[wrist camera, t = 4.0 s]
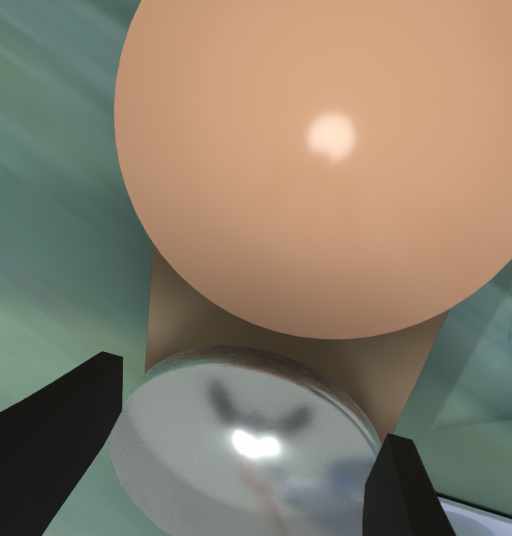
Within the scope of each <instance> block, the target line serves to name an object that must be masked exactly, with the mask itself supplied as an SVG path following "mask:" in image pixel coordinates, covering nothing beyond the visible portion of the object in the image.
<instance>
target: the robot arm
mask: <svg viewBox="0 0 512 536" xmlns="http://www.w3.org/2000/svg"><path fill="white" fill-rule="evenodd" d="M122 389H123V357H121V356H117V355H114V354H110V353H107V352H103V351H102V352H100V353H99V354H97V355H95V356H94V357H92V358H90V359H89V360H87V361H86V362H84V363H82V364H81V365H79V366H78V367H76V368H74V369H73V370H71V371H70V372H68V373H66V374H65V375H63V376H62V377H60V378H58V379H57V380H55V381H54V382H52V383H50V384H49V385H47V386H45V387H44V388H42V389H40V390H39V391H37V392H35V393H34V394H32V395H30V396H29V397H27V398H25V399H23V400H22V401H20V402H18V403H16V404H14V405H13V406H11V407H9V408H7V409H5V410H3V411H2V412H0V536H42V535H43V533H44V532H45V530H46V528H47V527H48V525H49V524H50V522H51V521H52V519H53V518H54V516H55V515H56V514H57V512H58V511H59V509H60V508H61V506H62V505H63V503H64V502H65V501H66V499H67V498H68V496H69V495H70V493H71V492H72V491H73V489H74V488H75V486H76V485H77V483H78V482H79V481H80V479H81V478H82V476H83V475H84V473H85V472H86V470H87V469H88V468H89V466H90V465H91V463H92V462H93V460H94V459H95V457H96V456H97V454H98V453H99V452H100V450H101V449H102V447H103V446H104V444H105V442H106V440H107V438H108V437H109V435H110V433H111V431H112V429H113V427H114V425H115V424H116V422H117V420H118V418H119V416H120V414H121V412H122ZM362 536H512V519H509V518H506V517H502V516H499V515H496V514H493V513H489V512H486V511H483V510H480V509H477V508H473V507H470V506H467V505H464V504H460V503H457V502H454V501H451V500H448V499H444V498H441V497H438V496H437V494H436V492H435V490H434V488H433V485H432V483H431V481H430V479H429V477H428V474H427V472H426V470H425V467H424V465H423V463H422V460H421V458H420V456H419V453H418V451H417V449H416V446H415V444H414V442H413V441H412V440H410V439H407V438H403V437H400V436H396V435H393V434H389V433H387V436H386V438H385V440H384V442H383V445H382V447H381V449H380V451H379V454H378V456H377V458H376V460H375V463H374V465H373V467H372V470H371V472H370V474H369V476H368V479H367V481H366V483H365V491H364V503H363V518H362Z"/></svg>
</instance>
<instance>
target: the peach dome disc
mask: <svg viewBox="0 0 512 536" xmlns="http://www.w3.org/2000/svg"><path fill="white" fill-rule="evenodd" d="M114 122H115V139H116V146H117V152H118V158H119V164H120V168H121V171H122V175H123V179H124V182H125V186H126V189H127V192H128V194H129V197H130V199H131V202H132V204H133V207H134V209H135V212H136V214H137V216H138V217H139V219H140V221H141V223H142V225H143V227H144V229H145V230H146V232H147V234H148V236H149V237H150V239H151V240H152V241H153V243H154V244H155V246H156V247H157V249H158V250H159V252H160V253H161V255H162V256H163V257H164V258H165V259H166V260H167V261H168V263H169V264H170V265H171V266H172V267H173V268H174V270H175V271H176V272H177V273H178V274H179V275H180V276H181V277H182V278H183V279H184V280H186V281H187V282H188V283H189V284H190V285H191V286H192V287H193V288H194V289H195V290H197V291H198V292H199V293H201V294H202V295H203V296H205V297H206V298H207V299H209V300H210V301H211V302H213V303H214V304H216V305H218V306H219V307H221V308H223V309H224V310H226V311H228V312H229V313H231V314H233V315H235V316H237V317H239V318H242V319H244V320H246V321H248V322H250V323H253V324H255V325H258V326H261V327H264V328H267V329H270V330H273V331H276V332H281V333H285V334H290V335H294V336H299V337H308V338H317V339H353V338H362V337H371V336H376V335H381V334H385V333H390V332H394V331H398V330H401V329H404V328H407V327H410V326H413V325H416V324H419V323H421V322H423V321H426V320H428V319H430V318H432V317H434V316H436V315H438V314H441V313H443V312H445V311H446V310H448V309H450V308H451V307H453V306H455V305H456V304H458V303H460V302H461V301H463V300H464V299H466V298H468V297H469V296H470V295H472V294H473V293H474V292H476V291H477V290H478V289H479V288H481V287H482V286H483V285H484V284H486V283H487V282H488V281H490V280H491V279H492V278H493V277H494V276H495V275H496V274H497V273H498V272H499V271H500V270H501V269H502V268H503V267H504V266H505V265H506V264H507V263H508V262H509V261H510V260H511V259H512V0H141V3H140V5H139V7H138V9H137V11H136V13H135V15H134V17H133V20H132V22H131V25H130V28H129V31H128V34H127V37H126V40H125V43H124V46H123V49H122V53H121V58H120V63H119V68H118V73H117V78H116V88H115V102H114Z"/></svg>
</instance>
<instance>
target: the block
mask: <svg viewBox="0 0 512 536" xmlns="http://www.w3.org/2000/svg"><path fill="white" fill-rule="evenodd" d="M449 310H450V309H448V310H446V311H445V312H443V313H441V314H438V315H436V316H434V317H432V318H430V319H428V320H426V321H423V322H421V323H419V324H416V325H413V326H410V327H407V328H404V329H401V330H398V331H394V332H390V333H385V334H381V335H376V336H371V337H362V338H353V339H317V338H308V337H299V336H294V335H290V334H285V333H281V332H276V331H273V330H270V329H267V328H264V327H261V326H258V325H255V324H253V323H250V322H248V321H246V320H244V319H242V318H239V317H237V316H235V315H233V314H231V313H229V312H228V311H226V310H224V309H223V308H221V307H219V306H218V305H216V304H214V303H213V302H211V301H210V300H209V299H207V298H206V297H205V296H203V295H202V294H201V293H199V292H198V291H197V290H195V289H194V288H193V287H192V286H191V285H190V284H189V283H188V282H187V281H186V280H184V279H183V278H182V277H181V276H180V275H179V274H178V273H177V272H176V271H175V270H174V268H173V267H172V266H171V265H170V264H169V263H168V261H167V260H166V259H165V258H164V257H163V256H162V255H161V253H160V252H159V250H158V249H157V247H156V246H155V244H154V243H153V254H152V269H151V285H150V301H149V317H148V333H147V348H146V364H145V373H146V372H147V371H149V370H150V369H151V368H152V367H153V366H155V365H156V364H157V363H159V362H161V361H162V360H164V359H166V358H167V357H169V356H172V355H174V354H177V353H179V352H182V351H186V350H190V349H194V348H198V347H206V346H215V345H224V346H242V347H250V348H256V349H261V350H265V351H269V352H273V353H276V354H279V355H282V356H285V357H288V358H291V359H293V360H296V361H298V362H300V363H302V364H304V365H306V366H309V367H311V368H312V369H314V370H316V371H317V372H319V373H321V374H322V375H324V376H326V377H327V378H329V379H330V380H331V381H333V382H334V383H335V384H337V385H338V386H339V387H341V388H342V389H343V390H344V391H345V392H346V393H347V394H348V395H349V396H350V397H351V398H352V399H353V400H355V401H356V403H357V404H358V405H359V406H360V408H361V409H362V410H363V411H364V412H365V414H366V415H367V417H368V418H369V420H370V422H371V423H372V425H373V426H374V428H375V430H376V433H377V435H378V437H379V440H380V442H381V446H382V445H383V442H384V440H385V438H386V436H387V433H389V434H392V433H393V431H394V429H395V427H396V424H397V422H398V420H399V418H400V416H401V414H402V411H403V409H404V407H405V405H406V403H407V401H408V398H409V396H410V394H411V392H412V390H413V388H414V385H415V383H416V381H417V379H418V377H419V375H420V372H421V370H422V368H423V366H424V364H425V362H426V359H427V357H428V355H429V353H430V351H431V349H432V346H433V344H434V342H435V340H436V338H437V336H438V333H439V331H440V329H441V327H442V325H443V323H444V320H445V318H446V316H447V314H448V312H449Z"/></svg>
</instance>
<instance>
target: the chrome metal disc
mask: <svg viewBox="0 0 512 536" xmlns="http://www.w3.org/2000/svg"><path fill="white" fill-rule="evenodd" d="M109 443H110V455H111V459H112V463H113V467H114V470H115V472H116V475H117V477H118V479H119V481H120V483H121V485H122V487H123V488H124V490H125V492H126V493H127V495H128V496H129V497H130V499H131V500H132V502H133V503H134V504H135V505H136V506H137V507H138V508H139V510H140V511H141V512H142V513H143V514H144V515H145V516H146V517H147V518H148V519H149V520H151V521H152V522H153V523H154V524H155V525H156V526H158V527H159V528H160V529H161V530H163V531H164V532H165V533H167V534H168V535H170V536H362V518H363V503H364V491H365V483H366V481H367V479H368V476H369V474H370V472H371V470H372V467H373V465H374V463H375V460H376V458H377V456H378V454H379V451H380V449H381V447H382V446H381V442H380V440H379V437H378V435H377V433H376V430H375V428H374V426H373V425H372V423H371V422H370V420H369V418H368V417H367V415H366V414H365V412H364V411H363V410H362V409H361V408H360V406H359V405H358V404H357V403H356V401H355V400H353V399H352V398H351V397H350V396H349V395H348V394H347V393H346V392H345V391H344V390H343V389H342V388H341V387H339V386H338V385H337V384H335V383H334V382H333V381H331V380H330V379H329V378H327V377H326V376H324V375H322V374H321V373H319V372H317V371H316V370H314V369H312V368H311V367H309V366H306V365H304V364H302V363H300V362H298V361H296V360H293V359H291V358H288V357H285V356H282V355H279V354H276V353H273V352H269V351H265V350H261V349H256V348H250V347H242V346H224V345H215V346H206V347H198V348H194V349H190V350H186V351H182V352H179V353H177V354H174V355H172V356H169V357H167V358H166V359H164V360H162V361H161V362H159V363H157V364H156V365H155V366H153V367H152V368H151V369H150V370H149V371H147V372H146V373H145V375H144V376H143V377H142V378H141V379H140V381H139V382H138V383H137V385H136V386H135V387H134V389H133V390H132V392H131V393H130V395H129V396H128V398H127V399H126V401H125V402H124V403H123V405H122V412H121V414H120V416H119V418H118V420H117V422H116V424H115V425H114V427H113V429H112V431H111V433H110V442H109Z"/></svg>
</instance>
